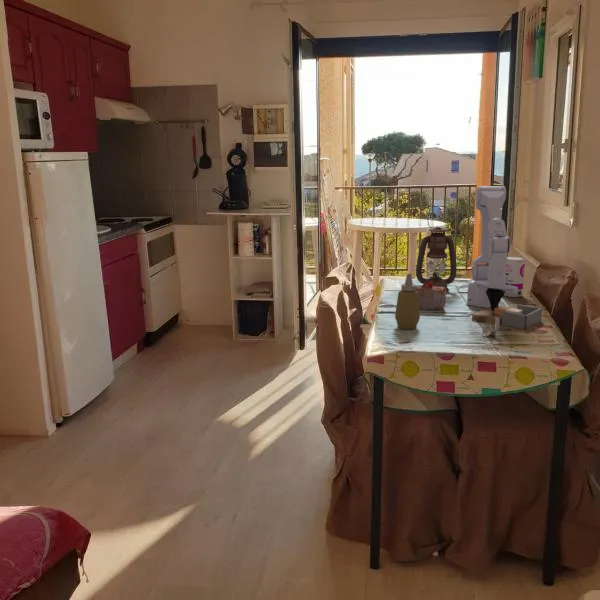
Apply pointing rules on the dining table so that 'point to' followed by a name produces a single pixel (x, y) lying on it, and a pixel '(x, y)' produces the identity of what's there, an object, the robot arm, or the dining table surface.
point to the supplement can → (515, 275)
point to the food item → (431, 296)
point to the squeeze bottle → (407, 305)
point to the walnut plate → (486, 316)
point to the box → (522, 317)
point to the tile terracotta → (500, 310)
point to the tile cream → (514, 311)
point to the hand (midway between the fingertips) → (494, 310)
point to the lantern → (437, 257)
